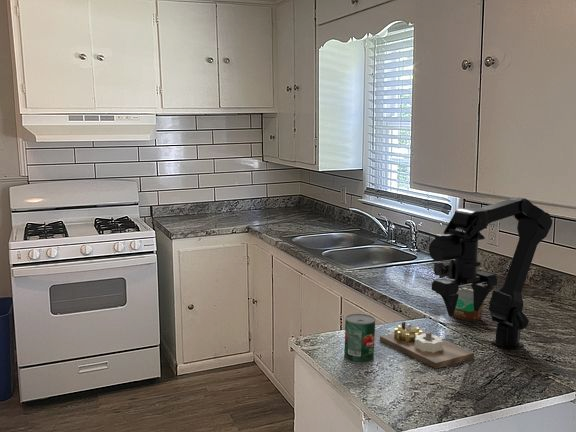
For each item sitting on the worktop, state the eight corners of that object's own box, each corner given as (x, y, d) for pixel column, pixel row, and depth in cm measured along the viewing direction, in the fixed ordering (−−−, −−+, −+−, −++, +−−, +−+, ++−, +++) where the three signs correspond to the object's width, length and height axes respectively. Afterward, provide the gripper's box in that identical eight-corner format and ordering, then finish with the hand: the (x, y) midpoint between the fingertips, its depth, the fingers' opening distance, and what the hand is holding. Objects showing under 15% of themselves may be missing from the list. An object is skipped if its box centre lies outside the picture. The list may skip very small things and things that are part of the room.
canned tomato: (343, 352, 162) (344, 313, 160) (372, 352, 161) (373, 313, 160) (344, 363, 154) (346, 323, 152) (375, 364, 153) (377, 323, 152)
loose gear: (428, 340, 167) (428, 332, 167) (448, 349, 161) (448, 340, 160) (408, 345, 163) (409, 336, 163) (428, 354, 157) (428, 345, 157)
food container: (440, 315, 194) (442, 286, 192) (449, 311, 198) (451, 282, 196) (476, 324, 185) (478, 293, 184) (485, 320, 190) (487, 290, 188)
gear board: (416, 332, 177) (417, 315, 176) (473, 358, 159) (475, 338, 158) (379, 341, 170) (380, 322, 169) (435, 368, 152) (436, 348, 151)
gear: (408, 331, 174) (409, 318, 173) (427, 339, 167) (427, 326, 167) (388, 336, 170) (389, 322, 169) (406, 344, 164) (407, 330, 163)
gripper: (468, 247, 168) (466, 300, 170) (418, 255, 159) (416, 311, 161) (500, 255, 158) (497, 311, 161) (448, 264, 149) (446, 323, 152)
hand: (463, 313), depth 159 cm, fingers open, 9 cm apart
